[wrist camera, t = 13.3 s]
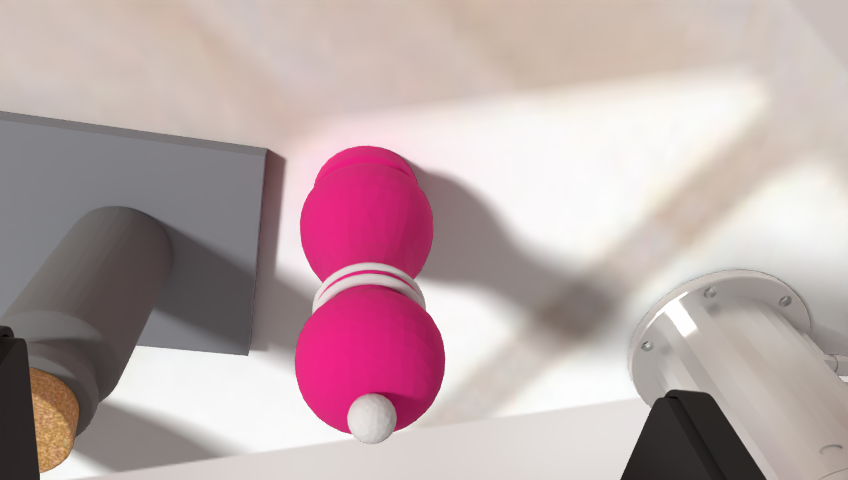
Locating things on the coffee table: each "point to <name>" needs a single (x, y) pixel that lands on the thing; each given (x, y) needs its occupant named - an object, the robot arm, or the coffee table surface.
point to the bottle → (87, 319)
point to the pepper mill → (368, 297)
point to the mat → (151, 195)
